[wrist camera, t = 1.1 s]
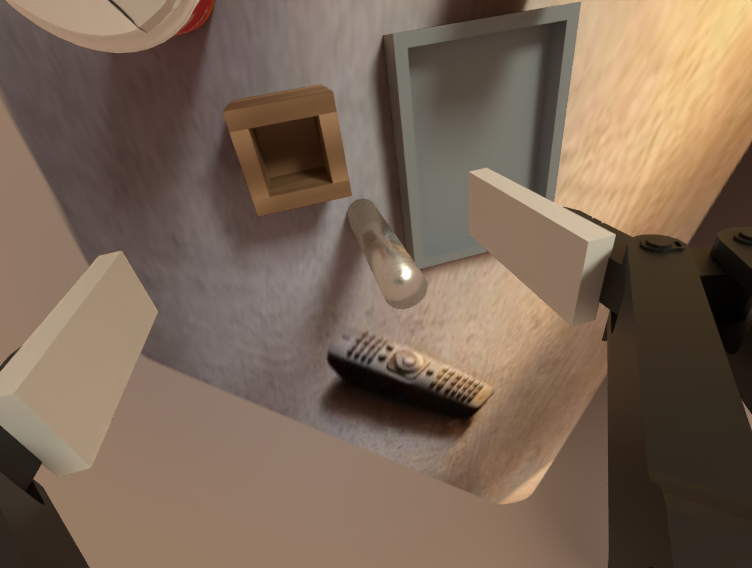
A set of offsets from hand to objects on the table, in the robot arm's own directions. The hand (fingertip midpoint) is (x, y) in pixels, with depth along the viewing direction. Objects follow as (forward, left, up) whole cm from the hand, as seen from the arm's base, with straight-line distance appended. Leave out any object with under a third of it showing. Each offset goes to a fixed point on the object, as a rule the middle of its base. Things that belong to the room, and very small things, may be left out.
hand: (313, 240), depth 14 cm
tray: (+4, +16, -20) cm, 26 cm away
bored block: (0, 0, -20) cm, 20 cm away
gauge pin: (+8, +5, -20) cm, 22 cm away
